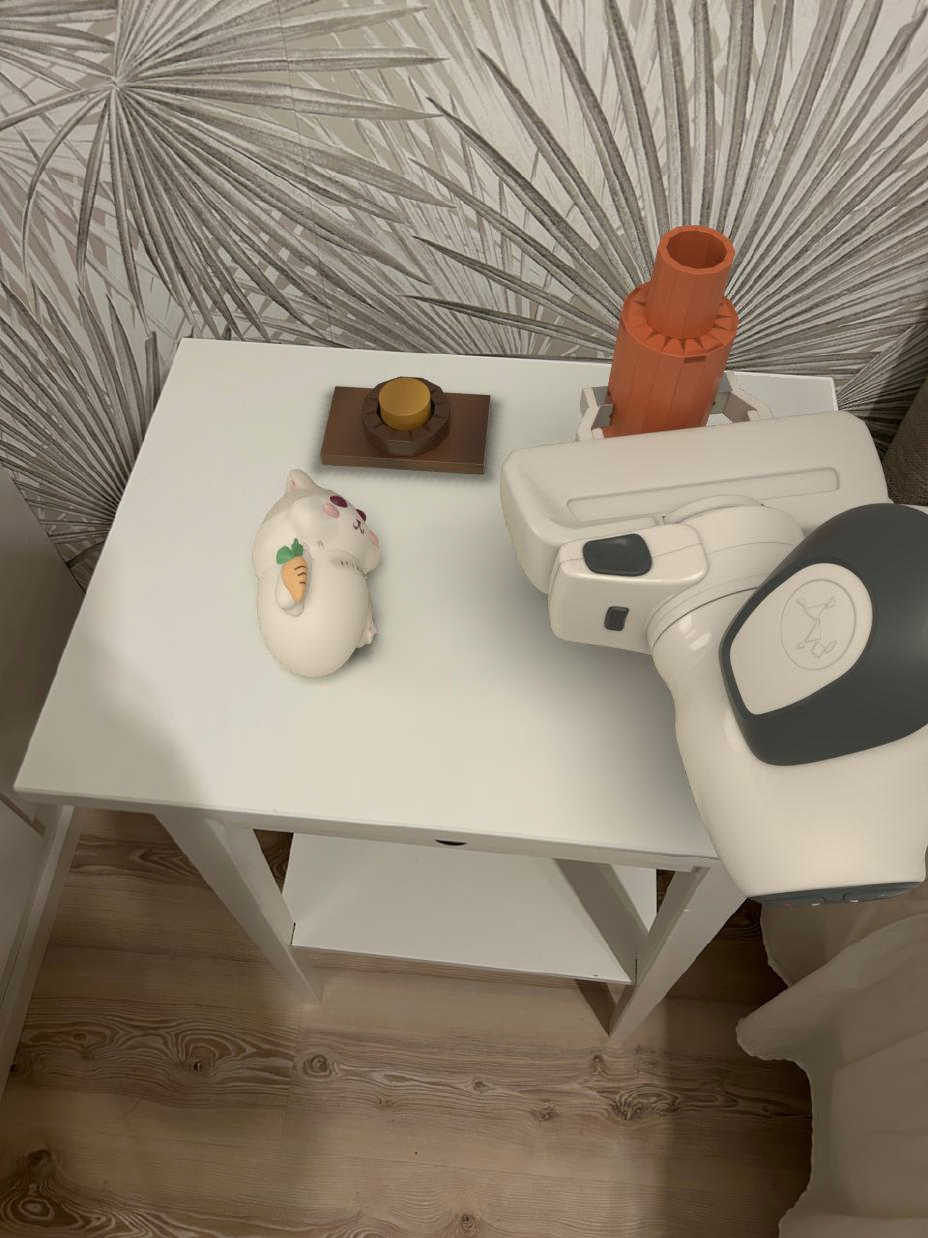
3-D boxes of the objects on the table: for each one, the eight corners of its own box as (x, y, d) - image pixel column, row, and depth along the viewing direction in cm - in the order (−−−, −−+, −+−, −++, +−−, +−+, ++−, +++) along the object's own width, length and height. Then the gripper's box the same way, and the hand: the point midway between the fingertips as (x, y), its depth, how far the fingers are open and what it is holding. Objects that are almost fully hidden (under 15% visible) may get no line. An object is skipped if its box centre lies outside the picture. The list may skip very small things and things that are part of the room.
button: (433, 394, 72) (432, 378, 70) (428, 432, 70) (427, 416, 68) (384, 391, 72) (382, 375, 70) (377, 429, 70) (375, 413, 68)
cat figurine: (312, 636, 53) (307, 426, 59) (213, 670, 56) (217, 469, 62) (404, 676, 60) (391, 487, 66) (312, 704, 64) (307, 522, 70)
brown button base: (490, 404, 75) (491, 378, 72) (483, 474, 71) (483, 449, 68) (336, 395, 75) (331, 369, 73) (322, 464, 72) (316, 439, 69)
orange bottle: (657, 484, 64) (738, 204, 45) (680, 552, 61) (776, 283, 42) (575, 494, 63) (621, 215, 44) (594, 563, 60) (652, 296, 41)
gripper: (947, 521, 43) (844, 325, 50) (531, 575, 42) (484, 365, 49) (894, 591, 49) (808, 405, 56) (524, 641, 47) (483, 444, 54)
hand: (654, 387), depth 52 cm, fingers closed on orange bottle, 6 cm apart
